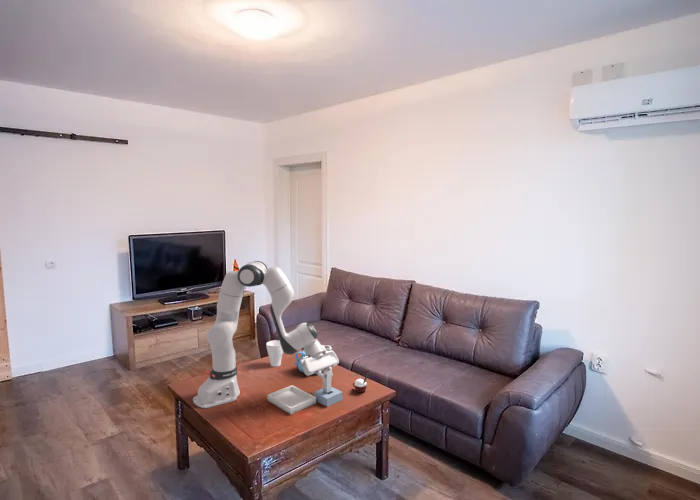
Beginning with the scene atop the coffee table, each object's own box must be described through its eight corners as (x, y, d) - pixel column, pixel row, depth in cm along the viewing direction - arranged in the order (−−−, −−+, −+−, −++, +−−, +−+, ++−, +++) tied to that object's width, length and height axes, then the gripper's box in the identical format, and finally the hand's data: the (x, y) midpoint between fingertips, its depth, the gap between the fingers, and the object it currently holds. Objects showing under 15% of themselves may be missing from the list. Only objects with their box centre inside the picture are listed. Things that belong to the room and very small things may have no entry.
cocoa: (351, 390, 210) (350, 367, 209) (361, 386, 213) (360, 364, 212) (361, 396, 202) (360, 373, 201) (371, 392, 205) (370, 370, 204)
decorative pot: (318, 363, 245) (317, 341, 244) (331, 372, 232) (331, 349, 230) (293, 369, 237) (292, 346, 235) (305, 378, 223) (305, 354, 222)
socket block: (327, 406, 192) (327, 398, 191) (313, 399, 199) (313, 392, 198) (342, 399, 199) (342, 391, 198) (329, 393, 206) (328, 385, 205)
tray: (290, 414, 185) (290, 408, 185) (267, 400, 198) (267, 394, 198) (316, 403, 195) (316, 397, 195) (292, 390, 209) (292, 385, 208)
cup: (276, 369, 235) (275, 347, 234) (263, 365, 241) (262, 343, 240) (288, 363, 244) (287, 342, 243) (275, 360, 250) (274, 339, 248)
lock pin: (326, 394, 196) (327, 373, 195) (322, 392, 198) (322, 371, 197) (331, 392, 198) (331, 371, 197) (327, 390, 201) (327, 369, 199)
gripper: (301, 355, 194) (314, 381, 188) (333, 345, 208) (346, 369, 202) (295, 361, 197) (308, 387, 192) (327, 351, 212) (339, 374, 206)
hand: (328, 377), depth 197 cm, fingers closed on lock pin, 3 cm apart
